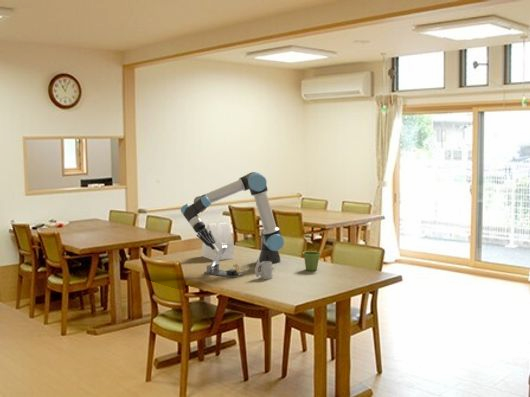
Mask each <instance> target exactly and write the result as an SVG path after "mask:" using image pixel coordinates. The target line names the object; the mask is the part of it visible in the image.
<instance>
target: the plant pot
mask: <svg viewBox="0 0 530 397" xmlns="http://www.w3.org/2000/svg"><path fill="white" fill-rule="evenodd" d="M321 254H322V253H321V252H319V251H315V250H313V251H311V250H310V251H309V250H308V251H303V252H302V255H303V259H304V265H305V270H306V271H309V272H310V271H313V272H314V270H315V271H317V270H318V265H319V259H320V255H321Z"/></svg>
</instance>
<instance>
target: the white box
mask: <svg viewBox="0 0 530 397" xmlns="http://www.w3.org/2000/svg"><path fill="white" fill-rule="evenodd" d="M229 225H230V224H229V222H227V221H226V222H219V223H218V226H217V224H216V223H214V222H213V223H207V225H206V226H205V228H206V229H207V231H211V233H212V235H213V237H214V239H215V241H216V242H215V245H216V246H217V248H218V249H219V250H220V248H221V247H222V246H225V245H227V246H228V247H227V249H226V250H225V252H224V254H223V255H222V257H221V258H220V260H219V261H224V260H231V259H232V260H233V259H235V248H234V247H235V246H234V245H235V242H234V239H233V236H232V233H231V229H230V226H229ZM201 245H202V246H201V247H202V248H201V249H202V250H201V255H202V257H203V258H206V259H209V260H212V261H213V260H214V258H215V257H216V255H217V254H215V252H214V251H213V250H212V248H211V247H208V246H207V245H206V244H205V243H204V242H203V241H202V240H201Z"/></svg>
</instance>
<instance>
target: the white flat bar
mask: <svg viewBox="0 0 530 397" xmlns="http://www.w3.org/2000/svg"><path fill="white" fill-rule="evenodd" d="M227 247H228V246H227V245H225V246H222V247H221V248H220V250H219V252H218V253H217V255H216V257H215V258H214V260H212V262H211V263H210V266H212V269H214V267H216V265H217V264H219V263H220V261H221V260H220V258H221V257H222V255H223V254H224V252H225V250H226V249H227Z"/></svg>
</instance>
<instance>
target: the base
mask: <svg viewBox="0 0 530 397" xmlns="http://www.w3.org/2000/svg"><path fill="white" fill-rule="evenodd" d="M210 265H211V264H210ZM210 265H209V264H208V265H206V271H203V273H204V274H206V275H213V276H219V277H226V278H232V279H237V278H239V277H242V276H243V277H244V275H245V274H244V273H243V272H240V264H238V263H234V264H233V267H235V269H234V268H231V269H227V270H224V269H220V263H217V265H216V267H214V268H212V266H210Z"/></svg>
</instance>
